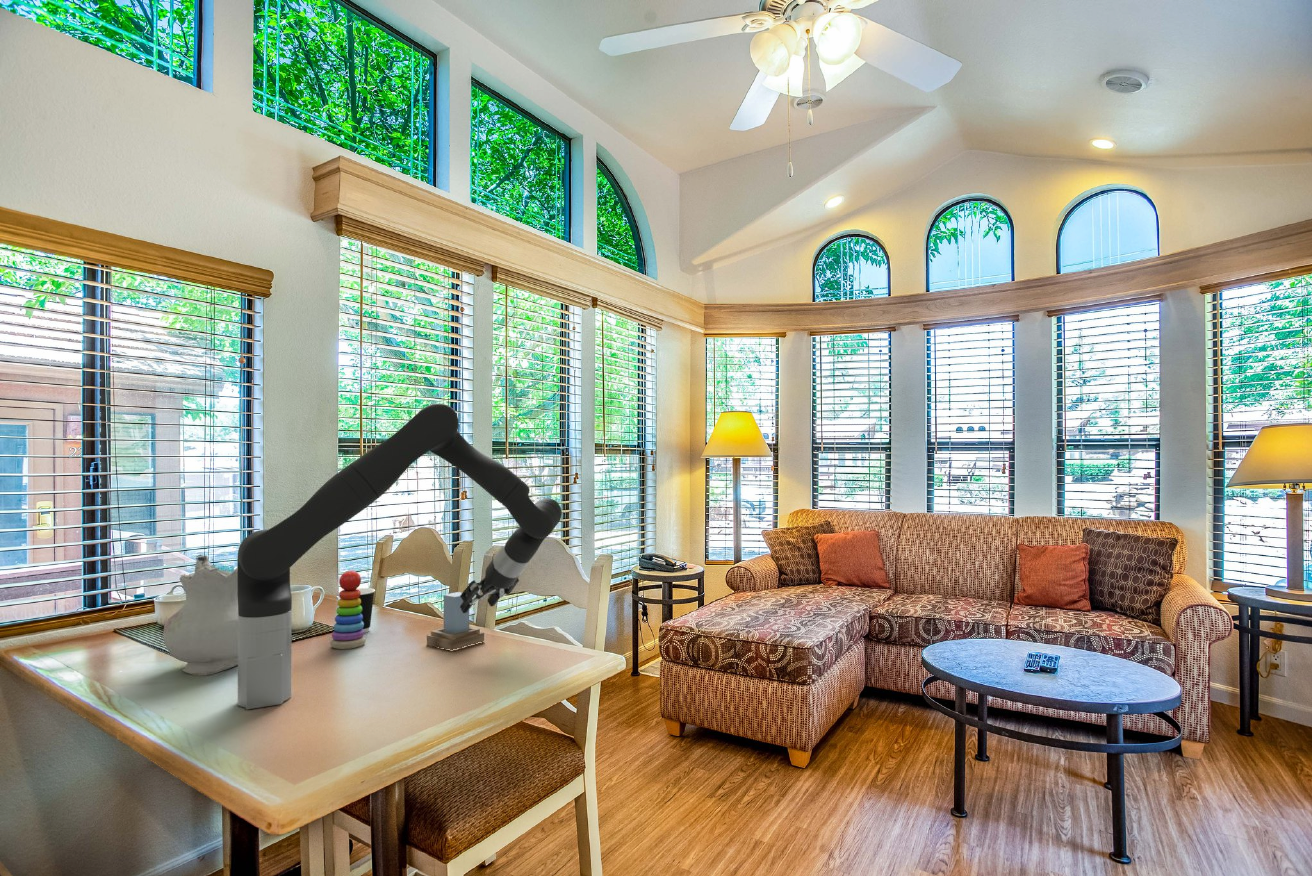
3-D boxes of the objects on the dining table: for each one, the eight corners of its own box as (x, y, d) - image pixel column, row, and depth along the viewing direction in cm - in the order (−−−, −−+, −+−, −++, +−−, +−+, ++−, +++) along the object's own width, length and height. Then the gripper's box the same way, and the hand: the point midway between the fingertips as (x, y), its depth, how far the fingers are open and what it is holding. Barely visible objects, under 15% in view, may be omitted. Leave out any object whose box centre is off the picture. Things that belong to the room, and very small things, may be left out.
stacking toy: (356, 650, 171) (357, 574, 171) (324, 650, 171) (325, 574, 171) (370, 641, 179) (370, 568, 179) (340, 641, 179) (340, 568, 179)
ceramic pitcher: (142, 674, 156) (133, 565, 155) (229, 646, 173) (222, 547, 172) (197, 690, 146) (188, 573, 145) (284, 658, 163) (277, 553, 162)
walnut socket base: (484, 642, 177) (484, 628, 177) (451, 651, 169) (451, 637, 169) (459, 636, 183) (459, 623, 183) (426, 645, 175) (426, 631, 175)
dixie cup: (377, 626, 194) (377, 587, 194) (372, 633, 186) (373, 592, 186) (346, 628, 192) (346, 588, 192) (341, 636, 184) (341, 594, 184)
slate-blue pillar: (469, 633, 177) (469, 594, 177) (454, 637, 173) (454, 597, 173) (457, 630, 179) (457, 591, 179) (443, 634, 175) (443, 594, 176)
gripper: (522, 549, 173) (491, 590, 179) (477, 556, 161) (445, 600, 167) (537, 572, 169) (505, 613, 176) (492, 581, 158) (460, 625, 164)
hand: (476, 606), depth 172 cm, fingers open, 8 cm apart
